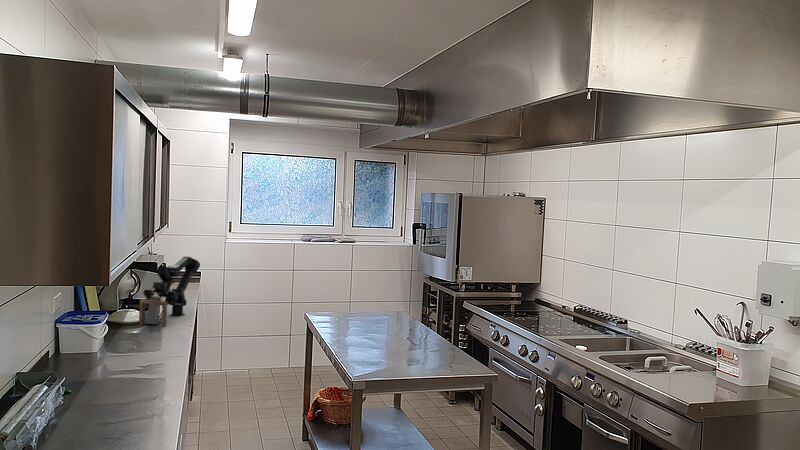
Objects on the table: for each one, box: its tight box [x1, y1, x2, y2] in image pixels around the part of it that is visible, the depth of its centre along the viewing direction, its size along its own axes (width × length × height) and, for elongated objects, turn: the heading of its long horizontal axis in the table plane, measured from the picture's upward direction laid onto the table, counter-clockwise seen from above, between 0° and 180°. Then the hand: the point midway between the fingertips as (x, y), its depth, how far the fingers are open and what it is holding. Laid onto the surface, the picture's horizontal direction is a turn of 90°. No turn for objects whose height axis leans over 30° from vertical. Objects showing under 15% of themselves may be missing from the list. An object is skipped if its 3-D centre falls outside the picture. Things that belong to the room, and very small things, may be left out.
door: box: [144, 310, 148, 324], centre depth 343 cm, size 12×1×6 cm, turn 166°
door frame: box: [138, 298, 168, 328], centre depth 334 cm, size 2×16×14 cm, turn 76°
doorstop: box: [144, 293, 162, 325], centre depth 337 cm, size 6×6×17 cm
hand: (154, 307), depth 337 cm, fingers open, 9 cm apart
